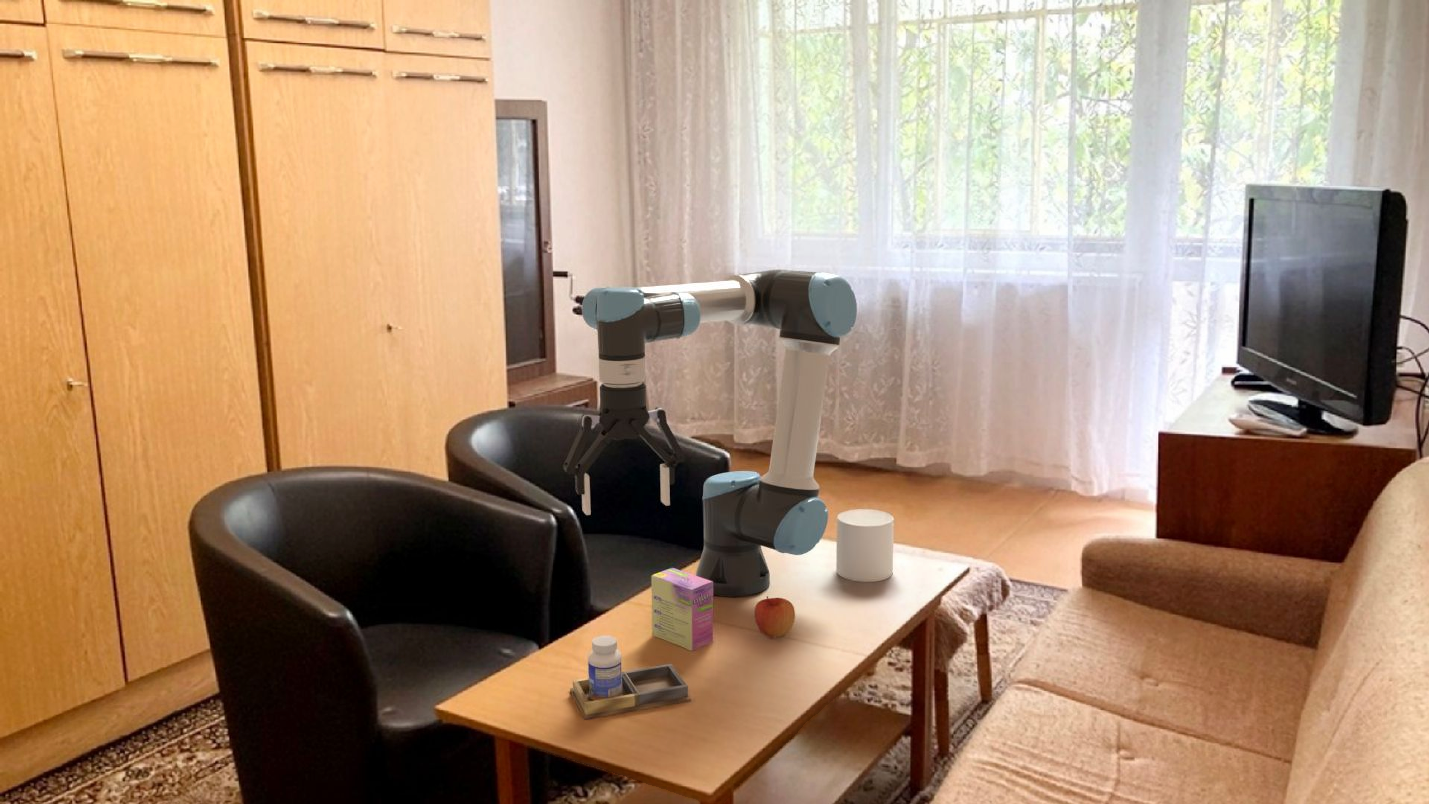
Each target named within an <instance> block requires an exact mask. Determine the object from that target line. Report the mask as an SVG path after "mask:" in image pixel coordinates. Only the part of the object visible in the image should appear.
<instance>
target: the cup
mask: <svg viewBox="0 0 1429 804" xmlns="http://www.w3.org/2000/svg"><path fill="white" fill-rule="evenodd" d="M894 524H895V518H894V517H893V515H892V514H890V513H889V512H887V511H882V510H877V509H871V508H857V509H849V510H845V511H841V512H840V513H839V514H838V515H837V517H836V563H835V566H836V568H835V569H836V573H837V575H839V576H840V577H842V578H843V579H846V580H848V581H854V582H859V583H860V582H861V583H875V582H880V581H884V580H887V579H888V578H891V576H892V575H893V570H894V530H895V529H894V528H895V526H894Z"/></svg>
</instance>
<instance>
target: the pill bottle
mask: <svg viewBox="0 0 1429 804" xmlns="http://www.w3.org/2000/svg"><path fill="white" fill-rule="evenodd" d="M622 662H623V661H622V654H621V651H620V650H618V640H617V638H616V637H614V636H611V635H601V636H597V637H595V638H592V642H591V652H589V654H588V656H587V663H588V664H587V665H588V668H587V669H588V670H587V671H588V678H589V695H590V698H591V699H592V700H593V701H595V700H601V699H606V698H612V697H618V696H622V672H623V668H622V667H623V666H622Z"/></svg>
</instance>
